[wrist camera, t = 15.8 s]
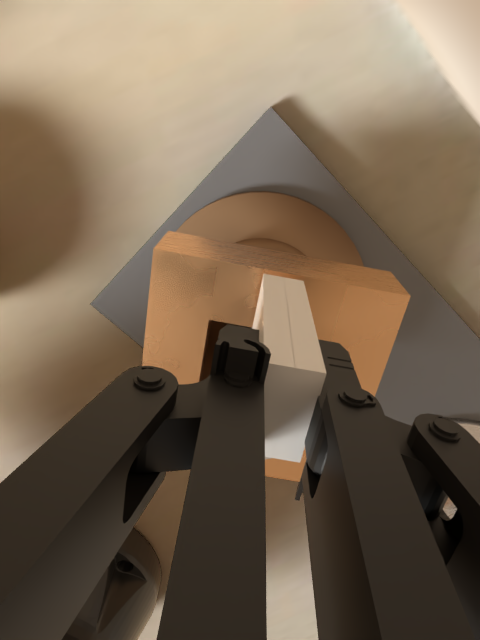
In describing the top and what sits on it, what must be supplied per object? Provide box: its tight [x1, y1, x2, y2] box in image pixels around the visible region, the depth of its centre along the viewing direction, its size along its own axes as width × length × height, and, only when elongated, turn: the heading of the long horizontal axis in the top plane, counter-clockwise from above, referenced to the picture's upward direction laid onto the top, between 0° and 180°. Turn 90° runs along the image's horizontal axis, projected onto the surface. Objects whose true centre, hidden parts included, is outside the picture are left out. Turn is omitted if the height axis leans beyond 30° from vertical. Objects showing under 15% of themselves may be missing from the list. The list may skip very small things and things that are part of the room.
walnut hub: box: [176, 191, 364, 460], centre depth 22 cm, size 13×13×13 cm
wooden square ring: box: [142, 231, 411, 482], centre depth 21 cm, size 10×10×3 cm
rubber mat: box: [91, 107, 480, 426], centre depth 31 cm, size 34×16×1 cm, turn 45°
